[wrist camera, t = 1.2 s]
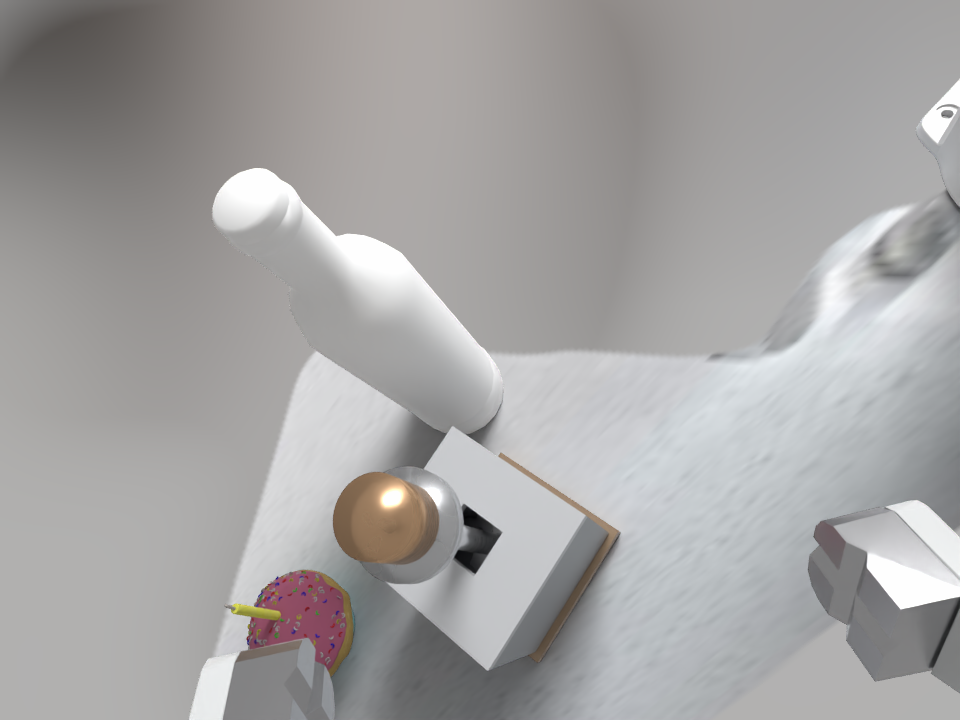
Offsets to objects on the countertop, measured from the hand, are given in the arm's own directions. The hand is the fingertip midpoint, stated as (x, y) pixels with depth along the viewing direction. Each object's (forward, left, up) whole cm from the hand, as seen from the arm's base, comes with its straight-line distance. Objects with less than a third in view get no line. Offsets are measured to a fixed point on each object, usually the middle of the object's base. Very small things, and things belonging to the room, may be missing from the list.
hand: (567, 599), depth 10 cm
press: (+4, -10, -38) cm, 40 cm away
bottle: (-4, -22, -39) cm, 45 cm away
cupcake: (+18, -20, -39) cm, 47 cm away
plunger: (+4, -10, -31) cm, 33 cm away
